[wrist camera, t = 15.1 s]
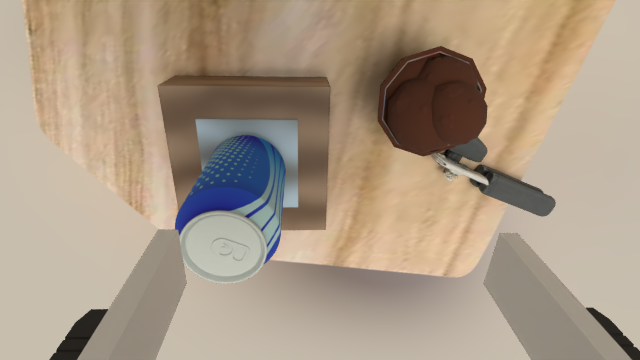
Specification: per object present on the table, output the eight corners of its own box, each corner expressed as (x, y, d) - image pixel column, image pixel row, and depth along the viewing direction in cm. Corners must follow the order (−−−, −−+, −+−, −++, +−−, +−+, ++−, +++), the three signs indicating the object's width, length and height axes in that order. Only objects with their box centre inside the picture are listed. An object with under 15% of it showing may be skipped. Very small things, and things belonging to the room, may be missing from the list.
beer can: (236, 208, 44) (206, 307, 29) (197, 150, 40) (141, 229, 26) (298, 180, 43) (298, 268, 28) (263, 118, 39) (243, 182, 25)
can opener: (417, 158, 49) (429, 173, 45) (444, 117, 47) (460, 129, 43) (522, 211, 54) (542, 230, 50) (551, 176, 52) (575, 193, 47)
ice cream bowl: (423, 19, 42) (483, 25, 28) (463, 98, 46) (532, 136, 32) (346, 74, 44) (367, 103, 30) (391, 144, 48) (427, 197, 35)
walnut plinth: (175, 75, 43) (156, 86, 37) (326, 77, 44) (330, 87, 38) (194, 207, 51) (181, 232, 45) (323, 206, 52) (325, 231, 46)
